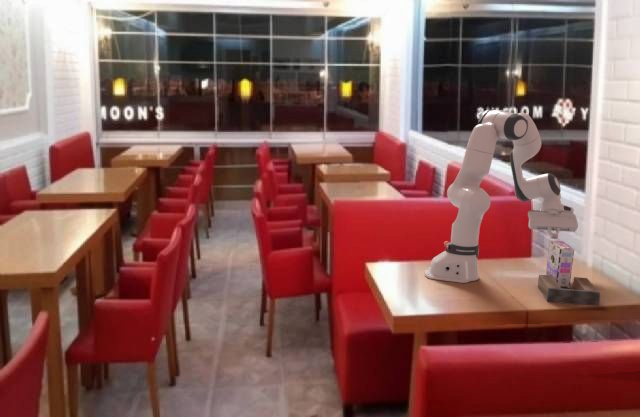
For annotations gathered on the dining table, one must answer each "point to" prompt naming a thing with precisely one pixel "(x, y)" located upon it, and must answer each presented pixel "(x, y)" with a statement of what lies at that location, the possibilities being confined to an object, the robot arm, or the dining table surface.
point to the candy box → (560, 262)
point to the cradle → (569, 291)
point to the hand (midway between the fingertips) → (554, 238)
